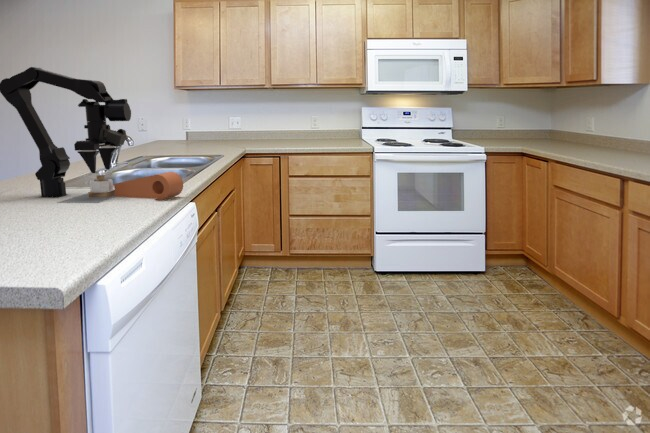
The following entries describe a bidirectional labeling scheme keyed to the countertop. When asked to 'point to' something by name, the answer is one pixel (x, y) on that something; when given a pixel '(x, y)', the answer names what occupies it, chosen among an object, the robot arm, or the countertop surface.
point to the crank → (151, 186)
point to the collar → (101, 186)
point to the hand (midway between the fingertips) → (100, 171)
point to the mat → (86, 199)
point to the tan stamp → (103, 194)
